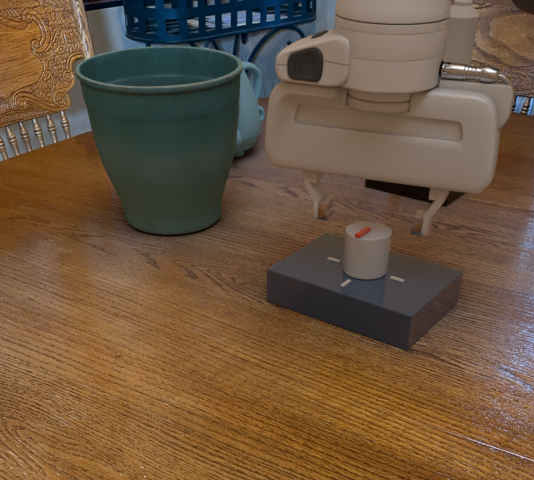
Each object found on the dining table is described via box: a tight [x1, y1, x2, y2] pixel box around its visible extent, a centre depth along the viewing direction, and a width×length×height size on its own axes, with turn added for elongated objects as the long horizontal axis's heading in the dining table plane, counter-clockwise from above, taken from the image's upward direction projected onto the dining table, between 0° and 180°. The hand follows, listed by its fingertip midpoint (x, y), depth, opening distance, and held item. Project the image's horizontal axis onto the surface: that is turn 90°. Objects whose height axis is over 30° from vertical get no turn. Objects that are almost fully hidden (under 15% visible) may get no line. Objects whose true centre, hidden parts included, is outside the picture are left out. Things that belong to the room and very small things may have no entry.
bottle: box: [439, 0, 480, 83], centre depth 103 cm, size 5×5×25 cm
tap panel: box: [266, 231, 464, 351], centre depth 70 cm, size 16×11×4 cm
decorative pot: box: [205, 47, 266, 158], centre depth 102 cm, size 16×16×14 cm
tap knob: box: [343, 220, 393, 280], centre depth 67 cm, size 4×4×4 cm
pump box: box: [364, 179, 466, 208], centre depth 94 cm, size 12×10×4 cm
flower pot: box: [75, 45, 243, 236], centre depth 82 cm, size 18×18×17 cm
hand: (370, 225), depth 65 cm, fingers open, 8 cm apart
